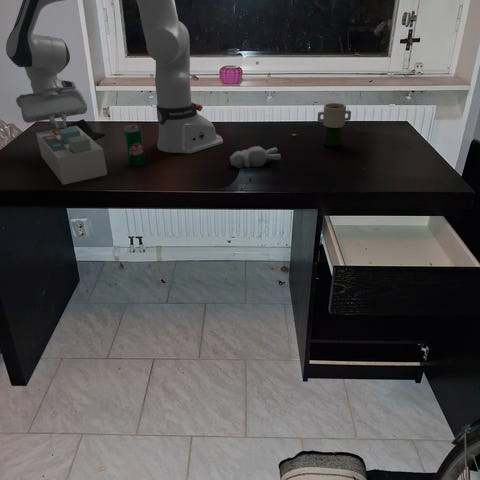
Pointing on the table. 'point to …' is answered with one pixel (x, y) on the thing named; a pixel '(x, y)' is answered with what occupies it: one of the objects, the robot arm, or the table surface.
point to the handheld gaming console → (86, 129)
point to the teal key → (68, 134)
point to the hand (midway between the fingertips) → (61, 128)
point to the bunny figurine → (253, 157)
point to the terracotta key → (57, 131)
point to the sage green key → (79, 144)
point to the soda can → (134, 145)
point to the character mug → (333, 122)
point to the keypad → (71, 158)
